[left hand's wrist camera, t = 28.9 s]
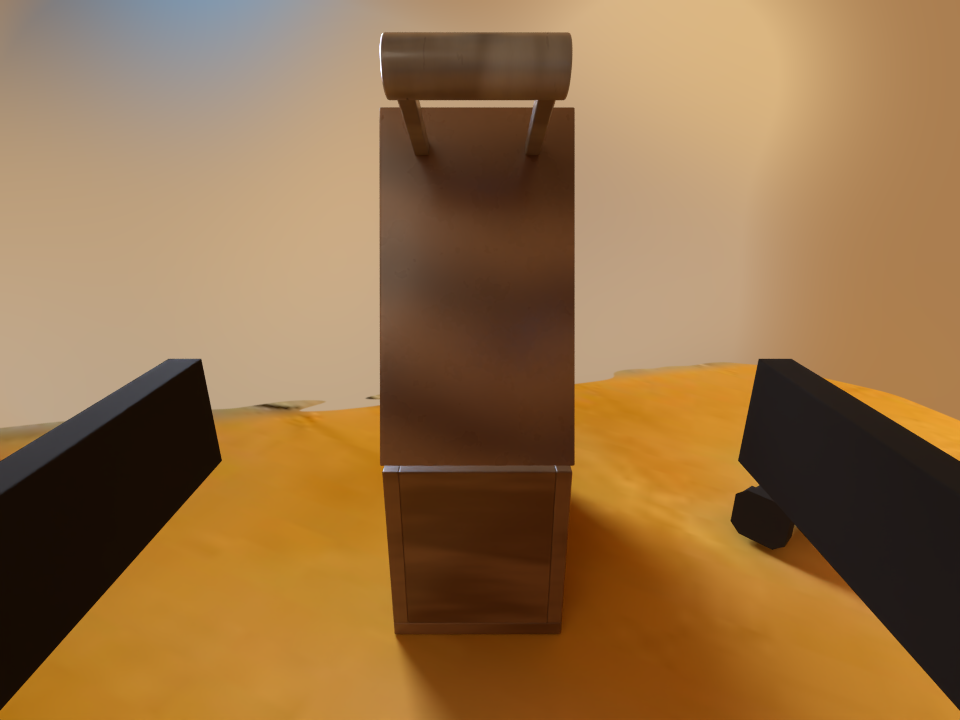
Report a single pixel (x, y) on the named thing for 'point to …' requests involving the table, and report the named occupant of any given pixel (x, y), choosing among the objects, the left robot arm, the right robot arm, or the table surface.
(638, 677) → the table surface
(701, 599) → the table surface
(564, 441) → the lid
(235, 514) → the table surface
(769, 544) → the toy gun
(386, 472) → the chest
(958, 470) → the left robot arm
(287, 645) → the table surface
